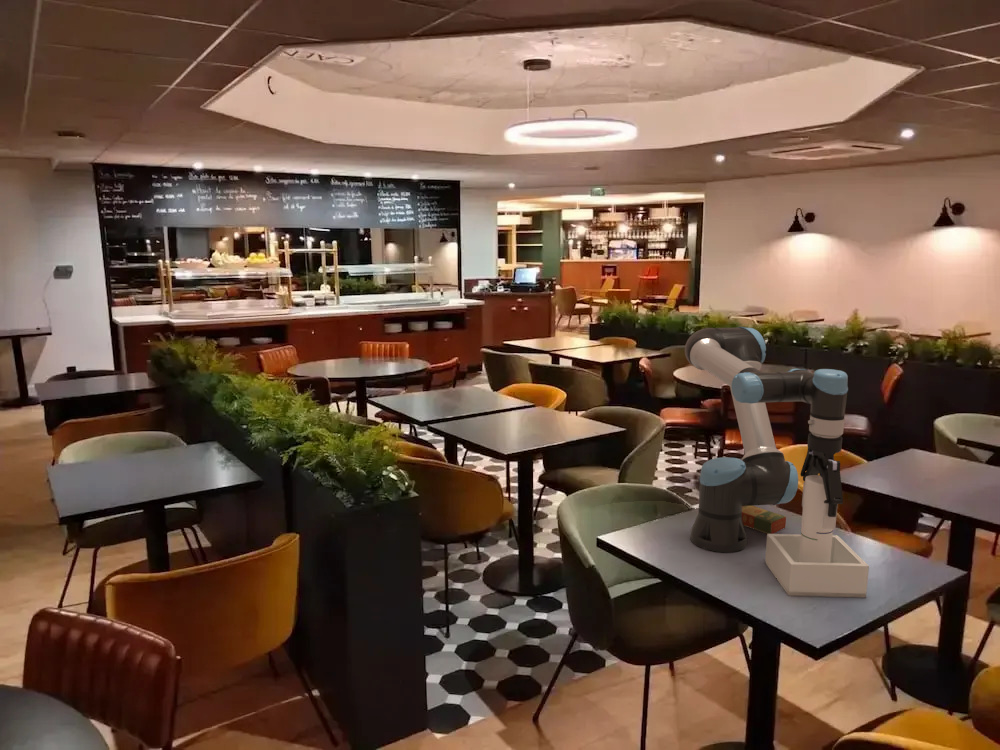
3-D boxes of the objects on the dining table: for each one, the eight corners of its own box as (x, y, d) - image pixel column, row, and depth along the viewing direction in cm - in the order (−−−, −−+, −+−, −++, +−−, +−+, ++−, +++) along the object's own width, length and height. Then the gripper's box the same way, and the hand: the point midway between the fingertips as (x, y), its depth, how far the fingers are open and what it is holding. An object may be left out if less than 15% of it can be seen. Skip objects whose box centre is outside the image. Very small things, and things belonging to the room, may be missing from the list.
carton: (738, 513, 225) (739, 500, 224) (786, 529, 212) (787, 515, 212) (722, 519, 220) (723, 505, 219) (770, 536, 207) (771, 521, 207)
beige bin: (765, 562, 189) (767, 533, 188) (834, 564, 188) (837, 535, 187) (788, 595, 172) (791, 564, 170) (865, 597, 171) (869, 566, 169)
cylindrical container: (831, 583, 176) (840, 485, 171) (800, 580, 177) (808, 483, 173) (824, 570, 183) (833, 476, 178) (795, 567, 184) (802, 474, 179)
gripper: (791, 420, 186) (785, 498, 190) (830, 448, 161) (821, 537, 165) (821, 421, 185) (814, 499, 189) (864, 449, 161) (855, 538, 165)
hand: (817, 517), depth 177 cm, fingers open, 13 cm apart
